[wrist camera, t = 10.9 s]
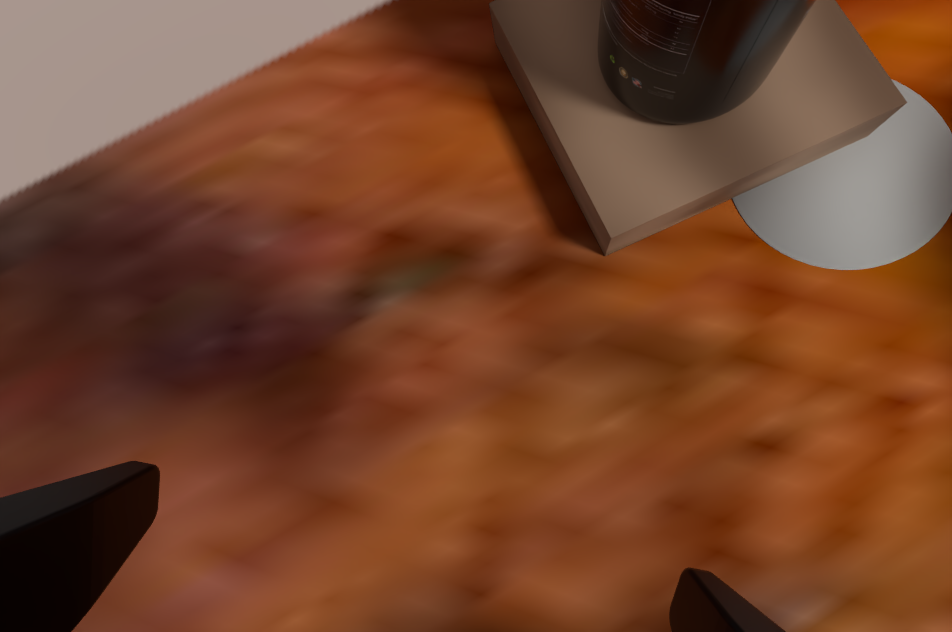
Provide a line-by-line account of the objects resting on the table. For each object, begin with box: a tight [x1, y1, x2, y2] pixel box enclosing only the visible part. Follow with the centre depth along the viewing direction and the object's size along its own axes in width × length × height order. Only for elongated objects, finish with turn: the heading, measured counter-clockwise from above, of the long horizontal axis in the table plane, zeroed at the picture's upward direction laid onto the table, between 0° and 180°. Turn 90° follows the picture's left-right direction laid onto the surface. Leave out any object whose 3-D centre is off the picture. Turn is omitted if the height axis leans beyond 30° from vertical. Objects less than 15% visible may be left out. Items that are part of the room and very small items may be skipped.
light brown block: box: [489, 0, 907, 256], centre depth 22 cm, size 12×12×2 cm
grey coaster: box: [732, 79, 952, 270], centre depth 22 cm, size 9×9×1 cm
